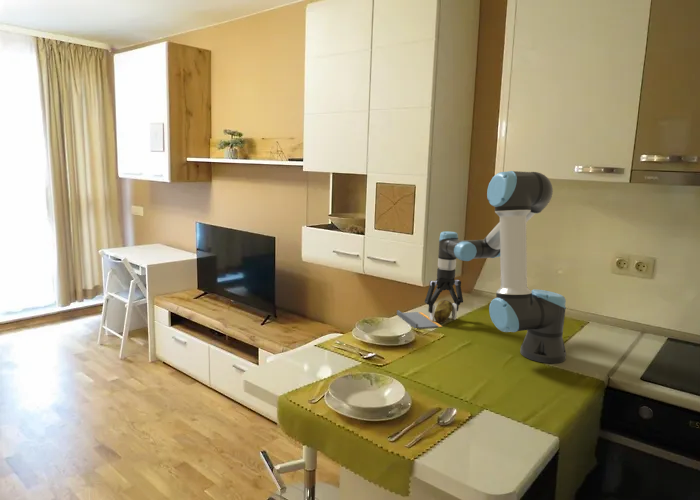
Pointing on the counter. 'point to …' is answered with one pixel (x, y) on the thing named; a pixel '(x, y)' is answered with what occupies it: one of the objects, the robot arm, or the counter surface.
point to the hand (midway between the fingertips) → (442, 319)
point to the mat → (416, 320)
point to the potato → (443, 311)
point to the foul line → (429, 319)
